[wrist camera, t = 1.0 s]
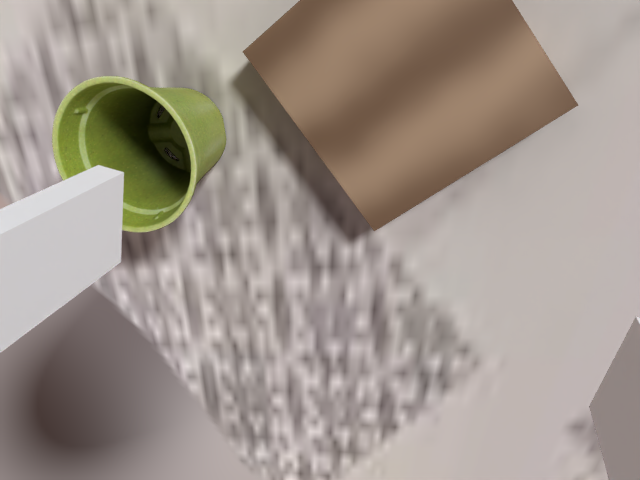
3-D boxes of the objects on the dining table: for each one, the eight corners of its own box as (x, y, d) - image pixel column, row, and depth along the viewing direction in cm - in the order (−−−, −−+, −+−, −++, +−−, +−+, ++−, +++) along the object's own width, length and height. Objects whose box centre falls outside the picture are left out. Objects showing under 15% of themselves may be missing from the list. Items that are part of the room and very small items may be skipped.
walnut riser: (259, 48, 37) (242, 51, 35) (439, -111, 32) (435, -121, 29) (381, 215, 40) (374, 231, 37) (570, 97, 34) (578, 105, 31)
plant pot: (167, 33, 39) (88, 40, 31) (274, 120, 39) (223, 148, 31) (111, 138, 43) (30, 167, 35) (209, 215, 43) (149, 261, 36)
